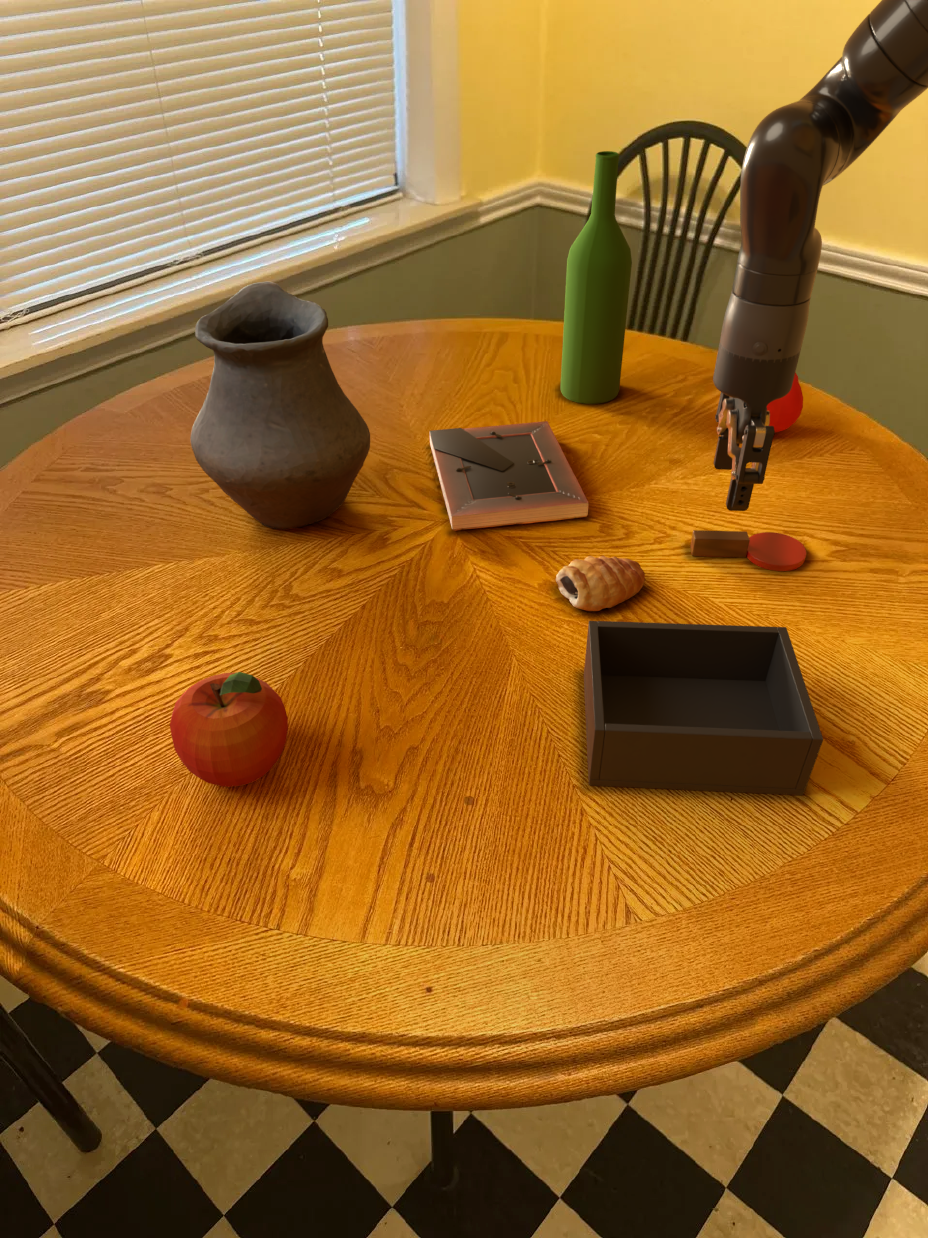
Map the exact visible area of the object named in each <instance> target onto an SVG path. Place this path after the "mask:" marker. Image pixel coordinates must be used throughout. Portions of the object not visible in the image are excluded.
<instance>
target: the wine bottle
mask: <svg viewBox="0 0 928 1238" xmlns="http://www.w3.org/2000/svg"><path fill="white" fill-rule="evenodd" d="M619 158H620V154H619V153H618V152H616V151H610V150H603V151H599V152H597V153H595V163H594V175H593V187H592V198H591V200H592V201H591V210H590V213H591V214H590V216H589V218H588V220H587V221H586V223H585V225H584V226H583V228H582V229H581V230H580V232H579V233H578V235H577V237H576V238H575V239H574V241H573V243H572V244H571V246H570V248H569V251H568V255H567V257H566V273H565V291H564V292H565V295H564V309H563V310H564V313H563V331H562V351H561V367H560V369H561V370H560V390H559V391H560V393H561V394H562V396H563V397H564V398H565V399H567V400H569V401H570V402H575V403H577V404H583V405H598V404H605V403H608V402H611V401H613V400H614V399H616V398H617V396H618V395H619V392H620V388H621V387H620V386H621V377H622V368H623V367H622V366H623V357H624V347H625V338H626V337H625V336H626V327H627V317H628V306H629V296H630V288H631V287H630V285H631V275H632V267H633V266H632V265H633V258H632V251H631V247H630V245H629V243H628V241H627V238H626V237H625V234H624V233H623V231H622V228H621V227H620V225H619V223H618V220H617V217H616V200H617V189H618V188H617V187H618V172H619V171H618V170H619Z"/></svg>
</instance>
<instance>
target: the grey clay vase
mask: <svg viewBox="0 0 928 1238" xmlns="http://www.w3.org/2000/svg"><path fill="white" fill-rule="evenodd" d="M328 328H329V317H328V314H327V311H326V310H325V309H324V308H323V307H322V306H320V305H319V304H318V303H317V302H314V301H311V300H305V299H301V298H299V297H298V296H295V295H294V294H292V293H290V292H288V291H285V290H284V289H283V288H282V287H281V285H279V284H278V283H275V282H272V281H259V282H254V283H250V284H247V285H245V286H243V287H242V288H240V289H239V290H238V291H237V292H235V294H234V295H232V296H231V297H230V298H229V299H227V300H226V301H225V302H224V303H222V304H221V305H219V306H218V307H217V308H215V309H214V310H212V311H210V312H209V313H207V314H205V315H203V316H200V318H199V319H198V320H197V322H196V324H195V328H194V334H195V335H194V336H195V338H196V340H197V341H198V342H199V343H201V344H202V345H203V346H204V347H206V348H207V349H210V350H212V351H213V369H212V373H211V377H210V382H209V386H208V391H207V393H206V396H205V398H204V401H203V403H202V406H201V408H200V410H199V412H198V414H197V416H196V418H195V420H194V422H193V425H192V427H191V432H190V439H189V440H190V446H191V449H192V452H193V455H194V458H195V461H196V462H197V464H198V465H199V467H200V468H201V469H202V471H203V472H204V473H205V474H206V475H207V476H208V477H209V478H210V479H211V480H212V481H213V482H214V483H215V484H216V485H217V486H218V487H219V488H220V490H222V491H223V493H224V494H225V495H227V496H228V497H229V498H230V499H231V500H232V501H233V502H234V503H235V504H236V505H238V506H239V507H241V509H243V510H244V511H245V512H246V513H247V514H249V515H250V516H251V517H252V518H253V519H255V520H256V521H257V522H259V523H260V524H261V525H262V526H264V527H267V528H270V529H274V530H289V529H296V528H302V527H306V526H308V525H311V524H315V523H318V522H321V521H322V520H325V519H326V518H328V517H329V516H331V515H332V514H334V513H335V512H336V511H337V510H338V509H339V508H340V507H342V505H343V504H344V502H345V500H346V499H347V497H348V495H349V493H350V491H351V488H352V486H353V484H354V481H355V480H356V478H357V476H358V475H359V472H360V471H361V470H362V468H363V467H364V464H365V461H366V459H367V457H368V455H369V452H370V448H371V432H370V428H369V426H368V424H367V422H366V421H365V419H364V417H363V416H362V415H361V414H360V412H359V411H358V409H357V407H356V406H355V405H354V404H353V402H352V401H351V400H350V399H349V397H348V396H347V394H345V392H344V391H343V389H342V387H341V385H340V384H339V382H338V380H337V378H336V376H335V372H334V371H333V369H332V367H331V364H330V361H329V359H328V355H327V352H326V350H325V347H324V342H323V340H324V336H325V333H326V332H327V331H328Z"/></svg>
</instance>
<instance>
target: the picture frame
mask: <svg viewBox="0 0 928 1238" xmlns="http://www.w3.org/2000/svg"><path fill="white" fill-rule="evenodd" d="M429 446H430V448H431V453H432V457H433V461H434V465H435V469H436V472H437V476H438V480H439V483H440V488H441V492H442V496H443V500H444V505H445V507H446V510H447V516H448V518H449V519H448V520H449V524H450V526H451V530H453V531H461V530H472V529H482V528H483V529H484V528H493V527H502V526H511V525H523V524H525V525H526V524H533V523H543V522H554V521H561V520H572V519H578V518H587V517H588V515H589V503H590V502H589V500H588V499H587V497H586V494H585V493H584V490H583V489H582V487H581V485H580V482H579V481H578V479H577V477H576V475H575V473H574V471H573V469H572V467H571V464H570V463H569V460H568V459H567V457H566V455H565V453H564V451H563V449H562V447H561V445H560V443H559V441H558V440H557V437H556V436H555V434H554V432H553V429H552V428H551V426H550V423H549V422H548V420H545V421H535V422H522V423H513V424H501V425H500V424H499V425H490V426H489V425H488V426H478V427H468V428H462V427H455V428H444V429H433V430H432V429H431V430H429Z"/></svg>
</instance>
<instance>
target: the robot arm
mask: <svg viewBox="0 0 928 1238" xmlns="http://www.w3.org/2000/svg"><path fill="white" fill-rule="evenodd" d="M927 89H928V0H881V1H879V3H878V4H877V5H876V6H875V7H874V8H873V9H872V10H871V11H870V12H869V14H867V15H866V16H865V18H863V20H862V21H861V22H860V23H859V25H857V27H856V28H855V29H854V31H853V32H852V33H851V35H850V36H849V37H848V39H847V41H846V43H845V44H844V46H843V50H842V53H841V57H840V58H839V59H838V60H837V61H836V62H835V64H833V66H832V67H831V68H830V69H829V70H828V71H827V72H826V73H825V74H824V75H823V77H822V78H821V79H820V80H819V81H818V82H817V83H816V84H815V85H814V86H813V87H812V88H811V89H810V90H809V91H807V93H806V94H805V95H803V96H802V97H801V98H800V99H798V100H797V101H794V102H790V103H788V104H786V105H785V104H784V105H782V106H780V107H778V108H776V109H774V110H772V111H771V112H769V113H768V114H766V116H764V117H763V118H762V120H761V121H760V122H759V123H758V124H757V125H756V127H755V129H754V130H753V132H752V134H751V136H750V139H749V140H748V144H747V146H746V150H745V153H744V157H743V161H742V165H741V172H740V188H739V191H740V192H739V198H740V199H739V216H740V217H739V225H740V235H741V239H740V241H741V242H740V247H739V251H738V256H737V261H736V266H735V271H734V277H733V282H732V286H731V287H732V288H731V293H730V296H729V300H728V303H727V305H726V309H725V312H724V317H723V321H722V327H721V332H720V338H719V344H718V348H717V354H716V360H715V367H714V370H713V376H712V383H713V385H714V386H715V388H716V390H718V391H719V392H720V394H719V395H720V396H719V400H718V404H717V409H716V414H715V416H714V418H715V422H716V423H718V424H717V425H718V426H717V427H716V433H717V436H718V438H717V443H716V448H715V453H714V458H713V467H714V469H715V470H719V471H720V470H721V471H723V470H726V471H727V470H728V471H730V470H731V471H730V483H729V486H728V491H727V496H726V499H725V507H726V509H727V511H729V512H745V511H748V509H749V507H750V503H751V499H752V496H753V495H752V494H753V490H754V486H755V485H763V484H764V481H765V478H766V476H765V475H766V471H767V467H768V463H769V457H770V453H771V448H772V445H773V440H774V435H775V434H776V433H775V430H774V426H769V423H770V412H769V411H767V405H768V404H769V403H770V402H772V401H774V400H776V399H780V398H782V397H784V396H785V395H787V394H788V393H789V392H790V390H791V388H792V384H793V380H794V376H795V372H796V373H797V367H798V363H799V358H800V355H801V351H802V346H803V343H804V338H805V334H806V330H807V326H808V321H809V313H810V303H811V298H812V294H813V289H814V286H815V281H816V277H817V273H818V268H819V265H820V259H821V256H822V248H823V238H822V235H821V233H820V231H819V230H818V229H817V228H816V227H815V226H816V220H817V214H818V209H819V208H818V207H819V202H820V197H821V193H822V190H823V187H824V186H826V185H828V184H829V183H831V182H832V181H834V180H835V179H836V178H838V177H839V176H840V175H842V173H844V172H845V170H847V169H848V168H849V167H850V166H851V165H852V164H854V162H855V161H857V160H858V158H859V157H860V156H861V155H863V153H864V152H866V150H867V149H868V148H869V147H870V146H871V145H872V144H873V143H874V142H875V141H876V140H877V138H878V137H879V136H880V135H881V134H882V133H883V132H884V131H885V130H886V129H887V127H888V126H889V125H890V124H891V123H892V122H893V121H894V120H895V118H896V117H897V116H898V115H899V114H900V113H901V111H902V110H904V109H905V108H906V107H907V106H908V105H909V104H911V103H912V102H913V101H914V100H916V99H917V98H919V97H920V96H921V95H922V94H923V93H924V92H926V90H927ZM740 445H741V447H740ZM749 463H751V467H747V465H748V464H749Z"/></svg>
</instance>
